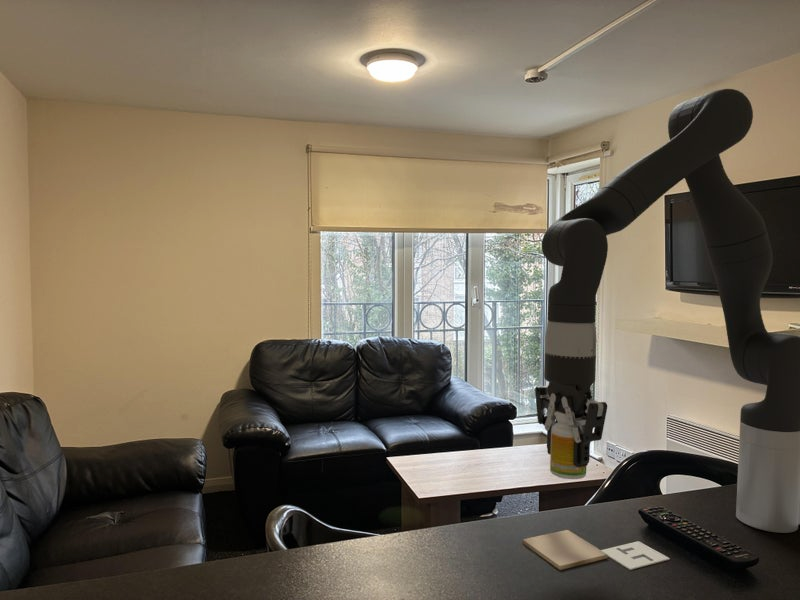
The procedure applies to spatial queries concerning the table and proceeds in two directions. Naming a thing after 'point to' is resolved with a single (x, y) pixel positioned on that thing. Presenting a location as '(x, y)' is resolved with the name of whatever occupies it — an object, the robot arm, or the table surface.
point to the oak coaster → (564, 549)
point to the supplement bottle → (564, 450)
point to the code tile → (635, 555)
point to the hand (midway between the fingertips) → (566, 459)
